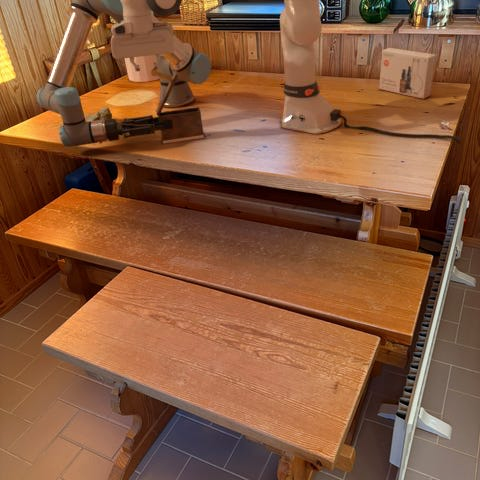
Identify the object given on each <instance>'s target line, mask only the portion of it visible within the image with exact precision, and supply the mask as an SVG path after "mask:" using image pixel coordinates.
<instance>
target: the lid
mask: <svg viewBox="0 0 480 480" xmlns="http://www.w3.org/2000/svg"><path fill="white" fill-rule="evenodd" d="M151 75H152V76H158V77H160V78H162V79H164V80H166V81H168V82H169V85H168V87H167V89H166V91H165V93H164V95H163V97H162V99H161V102H159V104H158V105H157V108H156V110H155V112H156V116H157V117H158V116H159V115H160V113H161V112H163V109H164V108H165V107H164V105H165V103H166V101H167V99H168V97H169V94H170V92H171V90H172V88H173V86H174V84H175V82H176V80H177V78H178V72H177V71H175V72H174V74H173V76H172V78H169V77H167V76H165V75H164V74H162V73H160V72H158V71H157V69H154V68H152V69H151Z"/></svg>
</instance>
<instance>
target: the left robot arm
mask: <svg viewBox="0 0 480 480" xmlns="http://www.w3.org/2000/svg"><path fill="white" fill-rule="evenodd" d="M69 11H70V16H69V18H68V20H67V23H66V27H65V30H64V32H63V34H62V37H61V40H60V43H59V46H58V49H57V52H56V54H55V58H54V60H53V63H52V66H51V68H50V71H49V74H48V77H47V80H46V83H45V85H44V87H41V88H39V90H37V93H36V101H37V103H38V105H39V106H40V107H42V108H43V109H45V110H46V111H50V112H52V113H56V114H58V115H60V117H61V120H62V125H61V124H60V125H59V127H58V134H59V139H60V142H61V143H62V145H63V146H64V147H68V148H69V147H80V146H86V145H92V144H100V145H102V144H103V143H106V142H114V141H115V142H116V141H119V140H120V137H121V136H123V138H124V139H128V138H132V137H139V136H146V135H155V134H156V131H161V130H165V129H172V128H173V124H172V120H170V121H163V122H159V119H158V116H154V115H153V114H150V115H145V116H138V117H130V118H126V117H125V118H123V120H122V121H121V122H118V121H117V119H116V118H115V117H114V118H113V117H112V119H106V120H105V121H103V120H97V121H90V122H87V120H86V115H85V113H84V109H83V105H82V101H81V97H80V95H79V92H78V90H77V88H76V87H73V86H71V84H72V81H73V79H74V76H75V73H76V71H77V68H78V65H79V63H80V60H81V58H82V54H83V52H84V49H85V47H86V44H87V41H88V38H89V36H90V33H91V31H92V27H93V25H94V24H96V23H98V21H99V17H100V15H101V14H106V15H108V16H109V17H110V18H112V19H113V20H114V21H115V22H116V23H118V22H120V21H123V20H124V18H123V6H122V4H121V2H120V0H71V3H70V6H69ZM152 19H153V23H162V22H161V21H160V20H159V19H158V18H157V17H156V16H155V15H154V14H152ZM172 38H173V42H174V46H175V51H174V52H173V53H168V54H160V60H159V63H158V67H159V69H158V72H160V73H162V74H164V75H165V76H167V77H169V78H172V76H173V74H174V72H175V71H177V72H178V78H177V80H176V82H175V84H174V86H173V88H172V90H171V92H170V94H169V97H168V99H167V101H166V103H165V105H164V107H163V108H180V107H181V108H182V107H185V106H188V105H190V104H193V103H194V102H195V95H194V93H193V91H192V89H191V86H190V84H193V85H201V84H204V83H205V82H206V81H207V80H208V79H209V77H210V75H211V72H212V62H211V59H210V57H209V56H208V55H207V54H205V53H203V52H199V51H197V50H196V49H195V48H194V47H193V46H192V45H191V44H190V43H188V42H184V43H183V42H182V41H181V40H180V39H179V38H178V37H177V36H176V35H175V34H173V36H172ZM156 60H157V58H156ZM159 78H160V77H159ZM189 83H190V84H189ZM159 84H160V91H159V99H158V101H159V103H160V102H161V99H162V97H163V95H164V93H165V91H166V89H167V87H168V85H169V82H168V81H166V80H164V79H162V78H160V79H159Z"/></svg>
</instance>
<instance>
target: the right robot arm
mask: <svg viewBox="0 0 480 480" xmlns="http://www.w3.org/2000/svg"><path fill="white" fill-rule="evenodd" d="M283 1H284V2H283V3H284V8H283V9H282V11H281V12H280V15H279V27H280V38H281V48H282V55H283V67H284V68H283V70H284V82H283V89H282V90H283V94H284V103H283V111H282V116H281V120H280V121H281V128H282V129H288V130H292V131H298V132H303V133H309V134H313V135H314V134H315V135H319V134H324V133H328V132H331V131H332V130H335V129H337V128H338V127H339V126H340V125H341V124H342V120H343V126H344V127H345V128H347V129H354V130H368V131H372V132H375V133H378V134H379V133H380V134H382V135H390V136H395V137H405V138H406V137H407V138H434V139H450V140H453V141H454V142H456V143H457V144H461V141H460V139H458V138H457V137H456V136H454V135H449V134H446V135H445V134H431V133H430V134H428V133H427V134H426V133H424V134H422V133H421V134H417V133H416V134H415V133H401V132H391V131H387V130H381V129H378V128H375V127H371V126H367V125H365V126H364V125H362V126H351V125H348V124H347V122H348V120H347V118H346V117H345V116H344V115H342V113H341V111H342V110H341V109H339V108H334V106H333V105H332V104H331V103H330V102H329V101H328V100H327V99H326V98H325V97H324V96H323V95H322V94H321V93H320V90H321V89H322V86H323V85H322V84H320V85H319V84H318V81H317V57H316V52H315V46H314V45H315V44H314V43H315V42H316V41H317V40H318V39H319V38H320V36H321V34H322V28H323V26H322V21H321V9H320V1H319V0H283ZM120 2H121V4H122V6H123V18H124V20H123V21H120V22H116V23H114V24H113V25H112V26H111V27H110V31H111V34H112V36H111V38H110V47H111V48H110V49H111V55H112V57H113V59H114V60H122V59H124V58H130V62H131V63H132V64H133V65H134V66H135V71H140V68H139V65H136V63H135V62H134V57H141V56H150V55H156V58H157V60H156V63H153V64H154V69H159V67H158V63H159V60H160V54H168V53H173V52H174V51H175V46H174V42H173V38H172V36H173V35H174V27H173V25H172V23H169V22H167V21H163V22H161V23H153V19H152V15H153V13H154V14H155V15H156V16H159V17H163V18H165V17H170V16H174V14H176V13H177V12H178V11H179V9H180V7H181V5H182V2H183V0H120ZM152 12H153V13H152ZM124 60H125V59H124ZM341 119H342V120H341ZM455 207H456V202H452V204H451V207H450V214H449V218H453V217H454V211H455Z"/></svg>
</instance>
